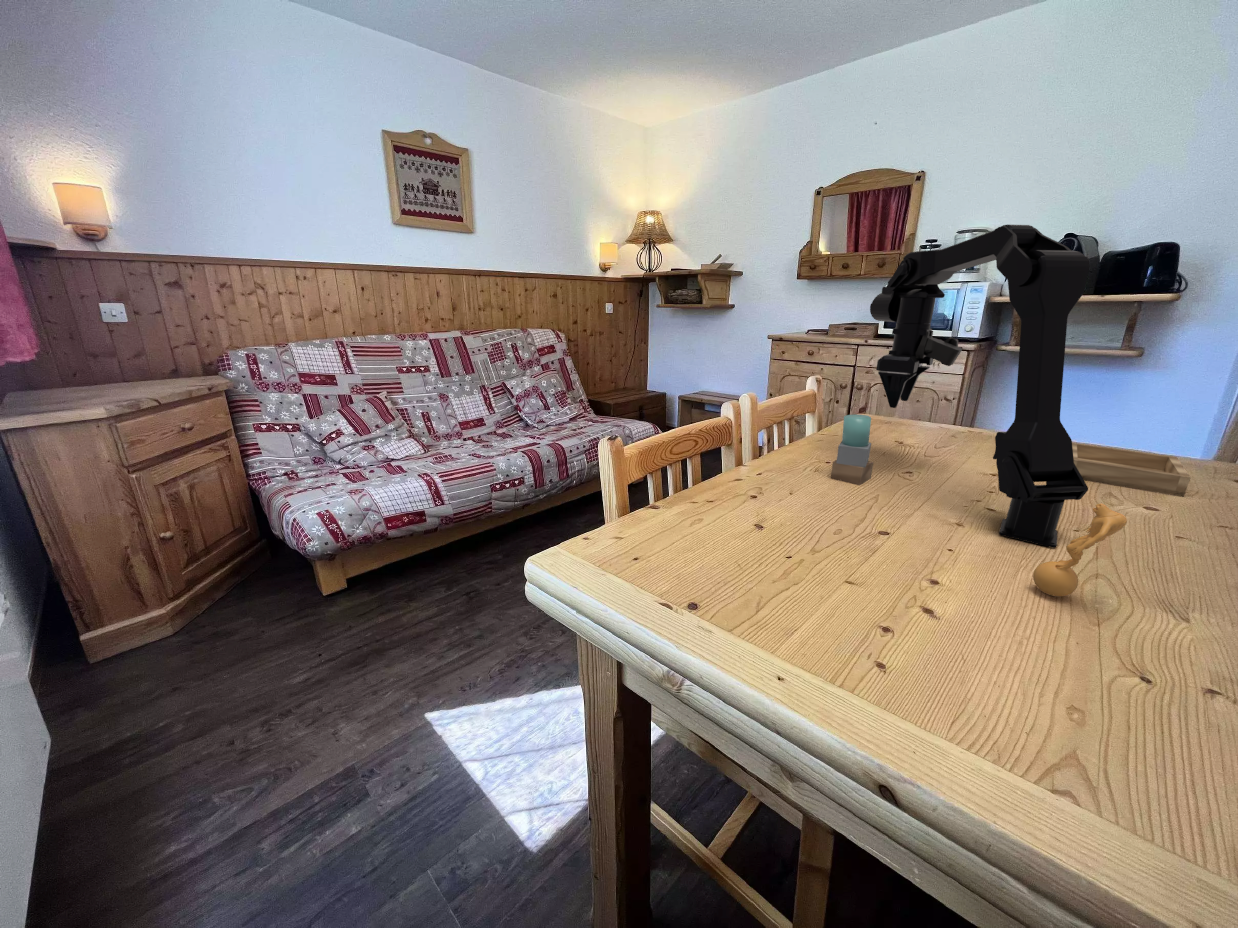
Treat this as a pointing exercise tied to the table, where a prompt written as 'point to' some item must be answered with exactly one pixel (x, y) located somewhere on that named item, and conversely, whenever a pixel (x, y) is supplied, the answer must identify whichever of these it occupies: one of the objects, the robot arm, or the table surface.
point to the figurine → (1077, 554)
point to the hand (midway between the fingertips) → (898, 404)
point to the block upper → (853, 455)
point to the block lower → (851, 473)
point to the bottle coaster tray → (1131, 469)
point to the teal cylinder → (856, 430)
